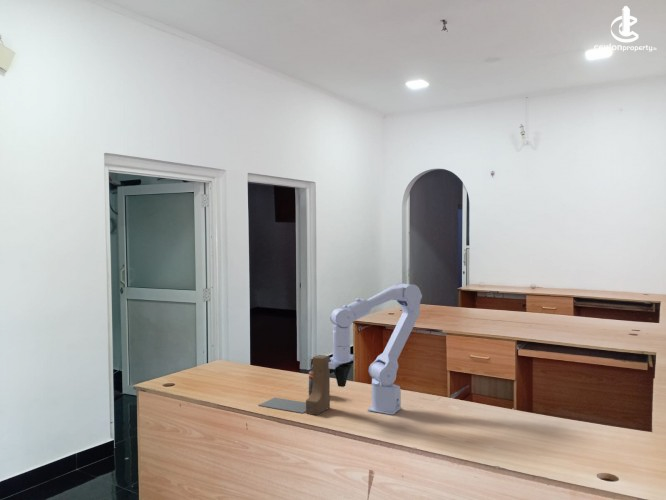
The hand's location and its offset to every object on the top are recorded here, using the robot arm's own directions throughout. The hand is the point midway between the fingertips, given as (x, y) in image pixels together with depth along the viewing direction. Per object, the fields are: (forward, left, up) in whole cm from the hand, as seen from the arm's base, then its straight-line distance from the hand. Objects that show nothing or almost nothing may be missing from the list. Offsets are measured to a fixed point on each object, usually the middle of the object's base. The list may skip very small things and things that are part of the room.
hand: (341, 386), depth 171 cm
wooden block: (+9, 0, -10) cm, 13 cm away
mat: (+21, 0, -9) cm, 23 cm away
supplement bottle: (+18, -15, -10) cm, 25 cm away
